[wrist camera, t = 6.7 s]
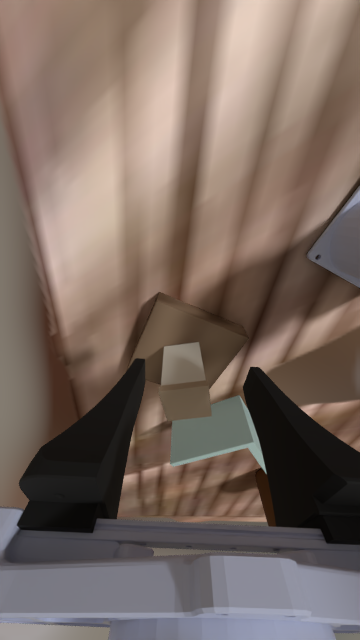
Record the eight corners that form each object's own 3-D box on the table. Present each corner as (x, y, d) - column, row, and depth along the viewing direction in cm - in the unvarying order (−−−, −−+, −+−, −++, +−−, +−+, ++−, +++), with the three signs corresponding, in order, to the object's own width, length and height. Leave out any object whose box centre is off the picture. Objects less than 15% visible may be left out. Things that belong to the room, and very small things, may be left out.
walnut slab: (241, 324, 24) (249, 338, 21) (200, 380, 29) (202, 397, 26) (159, 290, 22) (156, 301, 19) (131, 357, 27) (125, 373, 24)
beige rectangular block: (200, 340, 21) (208, 385, 16) (203, 368, 24) (211, 416, 18) (162, 345, 22) (158, 391, 16) (169, 372, 24) (167, 421, 18)
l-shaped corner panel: (172, 414, 33) (170, 463, 27) (238, 391, 30) (253, 442, 24) (202, 446, 38) (206, 495, 32) (260, 430, 35) (278, 480, 29)
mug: (314, 465, 41) (348, 529, 32) (302, 480, 44) (329, 541, 36) (258, 464, 41) (277, 528, 32) (251, 480, 44) (266, 540, 36)
